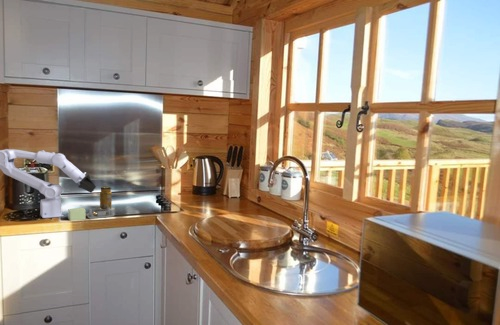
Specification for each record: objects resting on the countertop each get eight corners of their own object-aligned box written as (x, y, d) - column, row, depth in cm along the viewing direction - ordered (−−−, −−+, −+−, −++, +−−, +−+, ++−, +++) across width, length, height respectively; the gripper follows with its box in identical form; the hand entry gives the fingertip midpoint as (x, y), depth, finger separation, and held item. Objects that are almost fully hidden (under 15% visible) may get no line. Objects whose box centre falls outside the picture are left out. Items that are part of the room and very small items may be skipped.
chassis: (89, 218, 207) (89, 211, 206) (85, 215, 214) (85, 207, 213) (114, 216, 214) (114, 208, 213) (108, 212, 221) (108, 205, 220)
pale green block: (70, 221, 202) (70, 210, 201) (68, 219, 205) (68, 209, 205) (85, 219, 206) (85, 209, 205) (83, 217, 209) (83, 207, 209)
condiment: (109, 206, 237) (109, 185, 236) (115, 209, 230) (115, 188, 229) (96, 207, 232) (96, 186, 231) (102, 210, 226) (102, 189, 225)
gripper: (79, 162, 205) (101, 181, 208) (77, 169, 218) (97, 187, 220) (69, 172, 202) (90, 191, 204) (67, 179, 214) (87, 196, 217)
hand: (93, 189), depth 212 cm, fingers open, 7 cm apart
